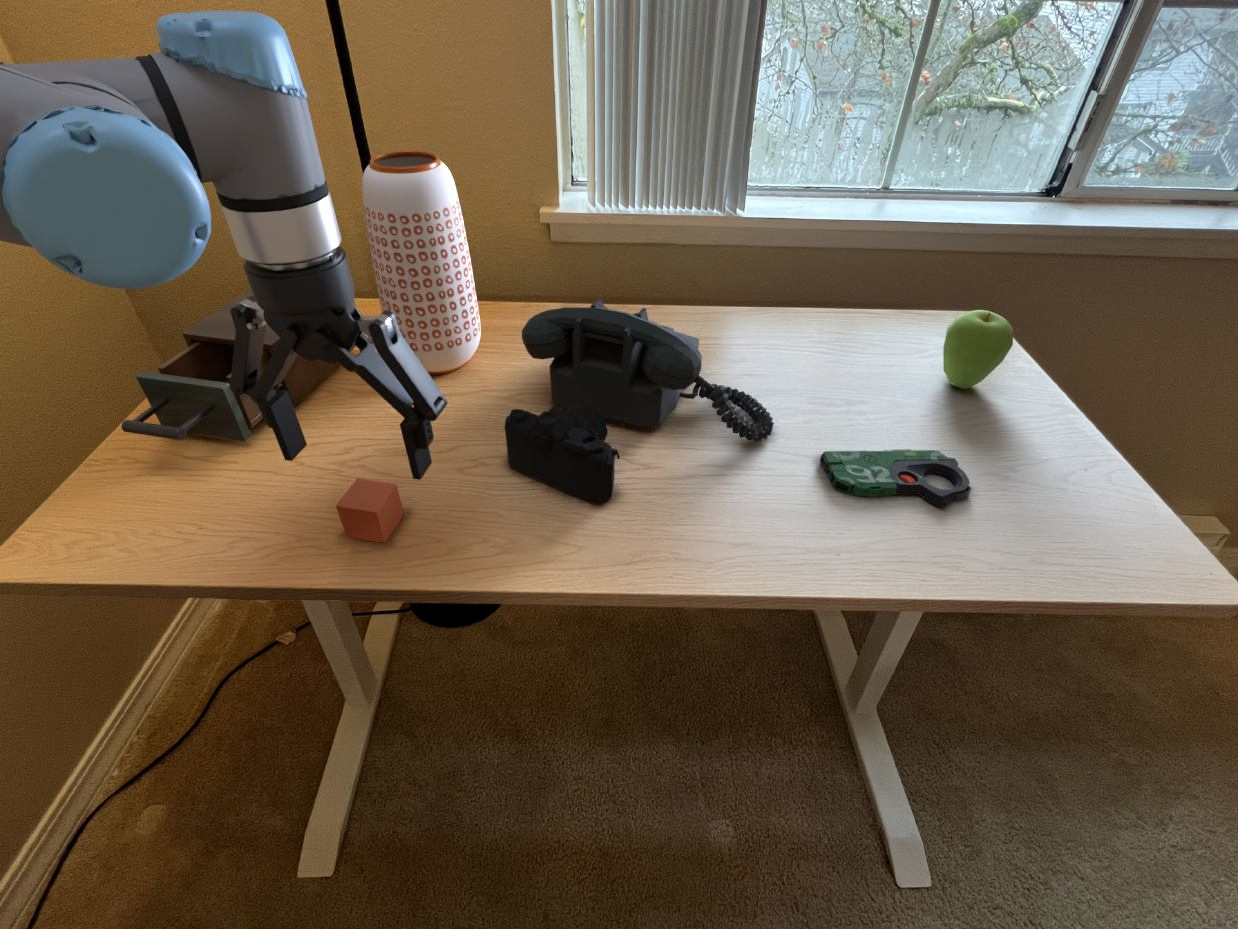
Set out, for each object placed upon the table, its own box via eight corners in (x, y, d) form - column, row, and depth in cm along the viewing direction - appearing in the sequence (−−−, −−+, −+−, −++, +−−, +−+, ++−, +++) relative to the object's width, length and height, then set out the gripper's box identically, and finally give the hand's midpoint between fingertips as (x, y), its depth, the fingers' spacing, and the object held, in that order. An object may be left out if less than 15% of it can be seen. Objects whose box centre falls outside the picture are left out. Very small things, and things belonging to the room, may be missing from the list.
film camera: (644, 467, 78) (648, 406, 73) (600, 513, 72) (601, 450, 66) (544, 426, 84) (541, 367, 79) (496, 465, 78) (488, 403, 72)
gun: (845, 502, 72) (819, 447, 80) (841, 511, 73) (816, 456, 81) (985, 500, 73) (946, 446, 81) (980, 509, 74) (942, 455, 82)
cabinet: (294, 408, 86) (271, 344, 80) (210, 396, 88) (181, 333, 82) (350, 355, 97) (334, 295, 91) (274, 345, 99) (253, 286, 93)
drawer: (211, 474, 74) (184, 418, 69) (124, 460, 76) (91, 405, 71) (307, 384, 89) (290, 333, 84) (233, 374, 91) (212, 324, 86)
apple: (928, 364, 99) (955, 294, 92) (987, 376, 97) (1019, 304, 90) (928, 393, 93) (957, 320, 86) (992, 405, 91) (1026, 331, 83)
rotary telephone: (790, 381, 94) (812, 284, 85) (760, 468, 79) (782, 360, 69) (581, 337, 103) (580, 245, 94) (517, 406, 88) (508, 304, 78)
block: (385, 543, 68) (376, 512, 65) (345, 536, 68) (335, 505, 65) (404, 514, 71) (396, 483, 68) (366, 508, 72) (357, 477, 69)
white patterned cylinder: (374, 367, 95) (322, 162, 77) (436, 330, 104) (403, 140, 86) (443, 392, 90) (406, 180, 72) (502, 352, 99) (481, 155, 81)
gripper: (462, 248, 52) (490, 455, 65) (186, 222, 55) (267, 423, 69) (422, 287, 46) (463, 504, 59) (117, 255, 49) (221, 467, 63)
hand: (358, 461), depth 64 cm, fingers open, 13 cm apart
